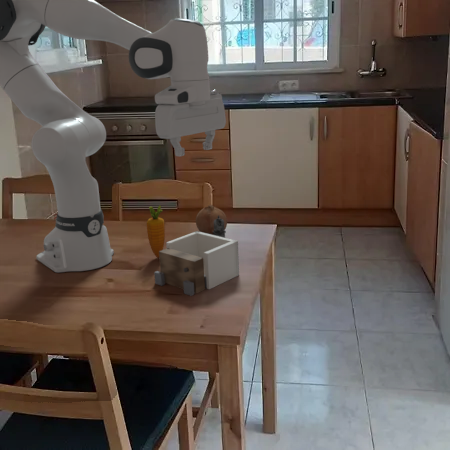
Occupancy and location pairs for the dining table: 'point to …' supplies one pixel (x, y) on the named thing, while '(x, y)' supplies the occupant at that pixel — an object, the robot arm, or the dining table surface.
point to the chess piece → (219, 227)
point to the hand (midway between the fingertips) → (194, 152)
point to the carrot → (156, 231)
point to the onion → (209, 219)
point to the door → (182, 269)
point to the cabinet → (207, 258)
